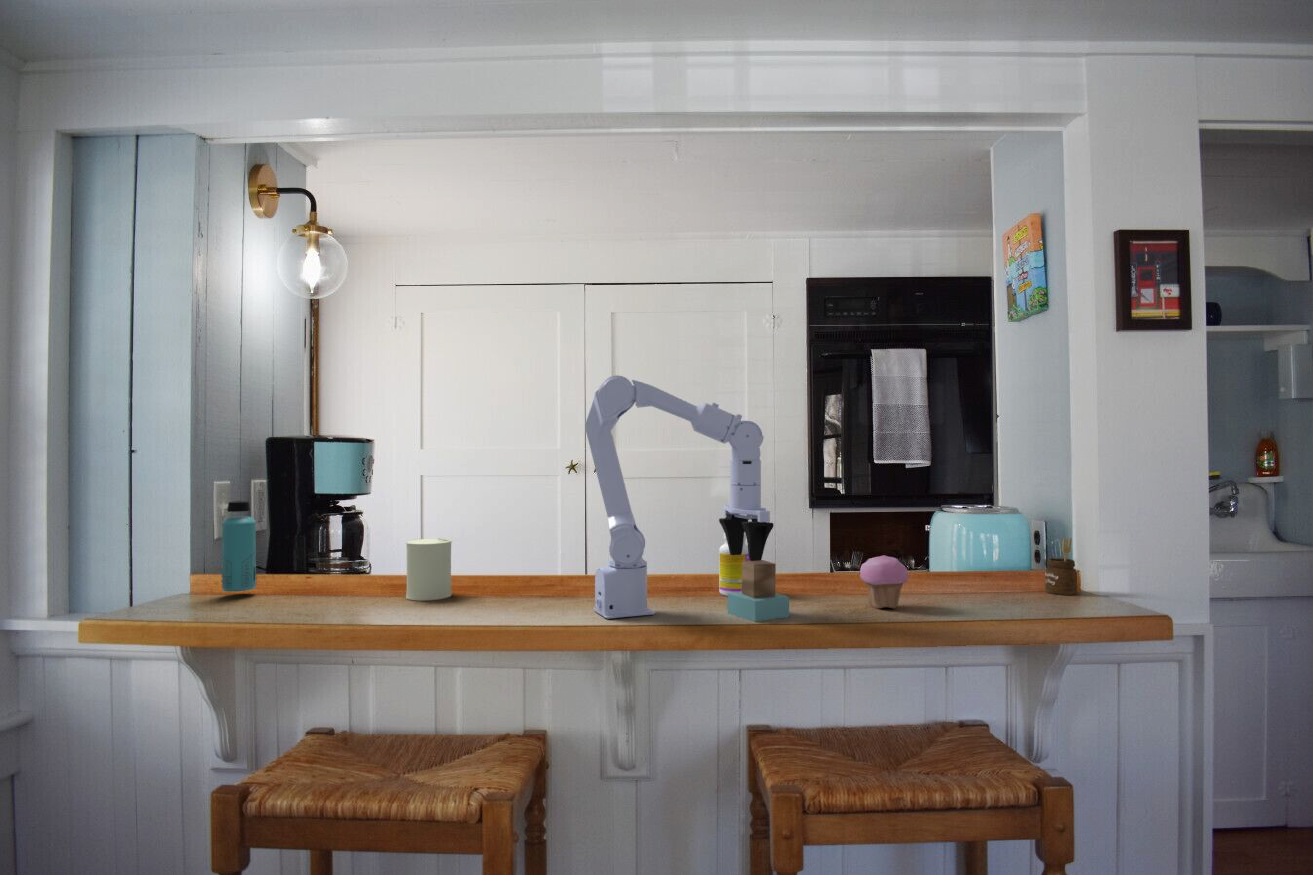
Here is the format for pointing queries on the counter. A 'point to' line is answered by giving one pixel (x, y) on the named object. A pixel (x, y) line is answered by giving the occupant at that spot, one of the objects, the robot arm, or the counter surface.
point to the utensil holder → (1061, 573)
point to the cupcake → (883, 580)
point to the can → (428, 569)
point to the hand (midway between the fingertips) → (745, 557)
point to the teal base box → (758, 606)
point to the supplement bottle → (731, 568)
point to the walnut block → (758, 579)
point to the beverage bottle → (238, 550)
